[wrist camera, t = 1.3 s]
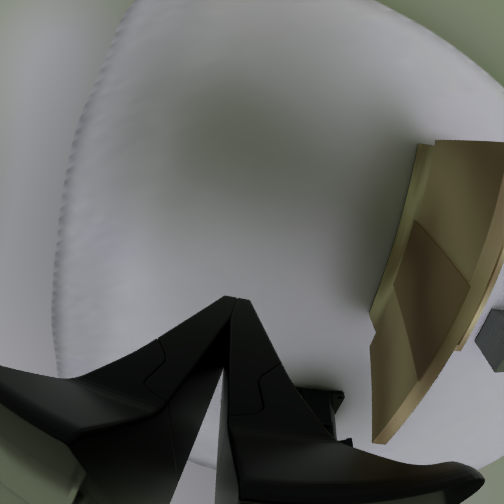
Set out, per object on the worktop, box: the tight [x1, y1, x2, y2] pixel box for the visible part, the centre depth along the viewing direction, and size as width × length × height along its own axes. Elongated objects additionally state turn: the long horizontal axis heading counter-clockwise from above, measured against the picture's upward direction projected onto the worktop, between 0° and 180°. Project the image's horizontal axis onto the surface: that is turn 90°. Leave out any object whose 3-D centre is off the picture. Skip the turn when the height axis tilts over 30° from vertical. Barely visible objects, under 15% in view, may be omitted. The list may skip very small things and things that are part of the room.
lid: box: [370, 140, 504, 445], centre depth 13 cm, size 14×9×1 cm
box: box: [369, 144, 504, 351], centre depth 18 cm, size 14×8×4 cm, turn 172°
